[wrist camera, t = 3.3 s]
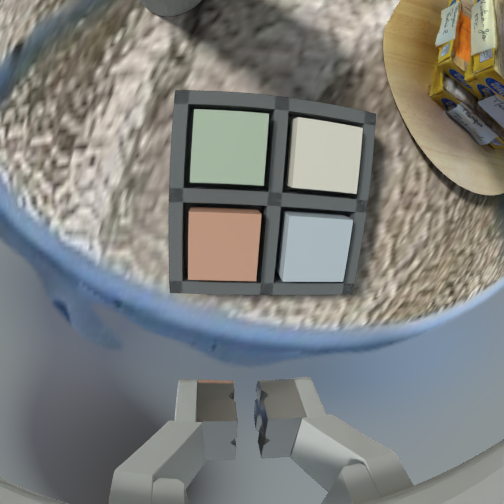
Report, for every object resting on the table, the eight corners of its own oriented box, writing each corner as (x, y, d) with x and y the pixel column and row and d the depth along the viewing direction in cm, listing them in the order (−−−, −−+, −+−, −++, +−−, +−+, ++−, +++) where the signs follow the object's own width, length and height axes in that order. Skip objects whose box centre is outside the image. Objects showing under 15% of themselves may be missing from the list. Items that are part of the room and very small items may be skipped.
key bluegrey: (342, 214, 24) (353, 220, 22) (334, 272, 26) (343, 281, 24) (283, 210, 23) (289, 215, 22) (277, 271, 25) (282, 281, 23)
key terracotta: (257, 209, 23) (261, 214, 21) (252, 271, 25) (256, 281, 23) (190, 206, 22) (188, 211, 21) (189, 269, 24) (188, 279, 22)
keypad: (354, 117, 24) (375, 113, 21) (335, 276, 29) (352, 294, 25) (180, 99, 22) (175, 90, 19) (175, 273, 27) (169, 292, 23)
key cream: (351, 129, 22) (362, 127, 20) (345, 190, 24) (356, 193, 22) (290, 119, 21) (297, 117, 19) (285, 184, 23) (292, 187, 21)
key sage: (264, 117, 21) (269, 113, 19) (259, 183, 23) (263, 185, 21) (195, 113, 20) (194, 109, 18) (191, 179, 22) (189, 182, 20)
